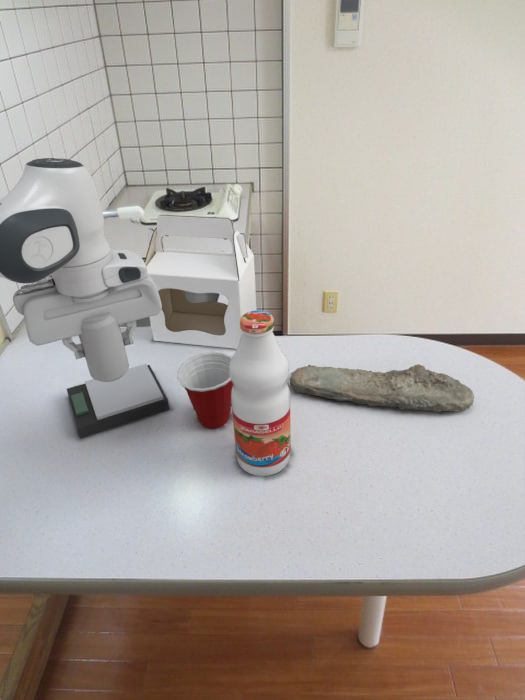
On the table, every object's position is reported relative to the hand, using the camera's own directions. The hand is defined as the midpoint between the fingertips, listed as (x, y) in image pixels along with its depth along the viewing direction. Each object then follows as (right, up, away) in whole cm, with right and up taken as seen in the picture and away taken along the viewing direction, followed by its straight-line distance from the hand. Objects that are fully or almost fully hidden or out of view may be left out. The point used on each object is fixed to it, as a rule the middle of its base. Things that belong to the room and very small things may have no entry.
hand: (104, 349), depth 84 cm
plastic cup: (+16, -13, +15) cm, 25 cm away
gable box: (+12, +5, +41) cm, 43 cm away
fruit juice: (+26, -19, +6) cm, 32 cm away
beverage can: (0, -4, +3) cm, 5 cm away
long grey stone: (+48, -9, +19) cm, 52 cm away
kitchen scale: (-3, -11, +19) cm, 22 cm away
